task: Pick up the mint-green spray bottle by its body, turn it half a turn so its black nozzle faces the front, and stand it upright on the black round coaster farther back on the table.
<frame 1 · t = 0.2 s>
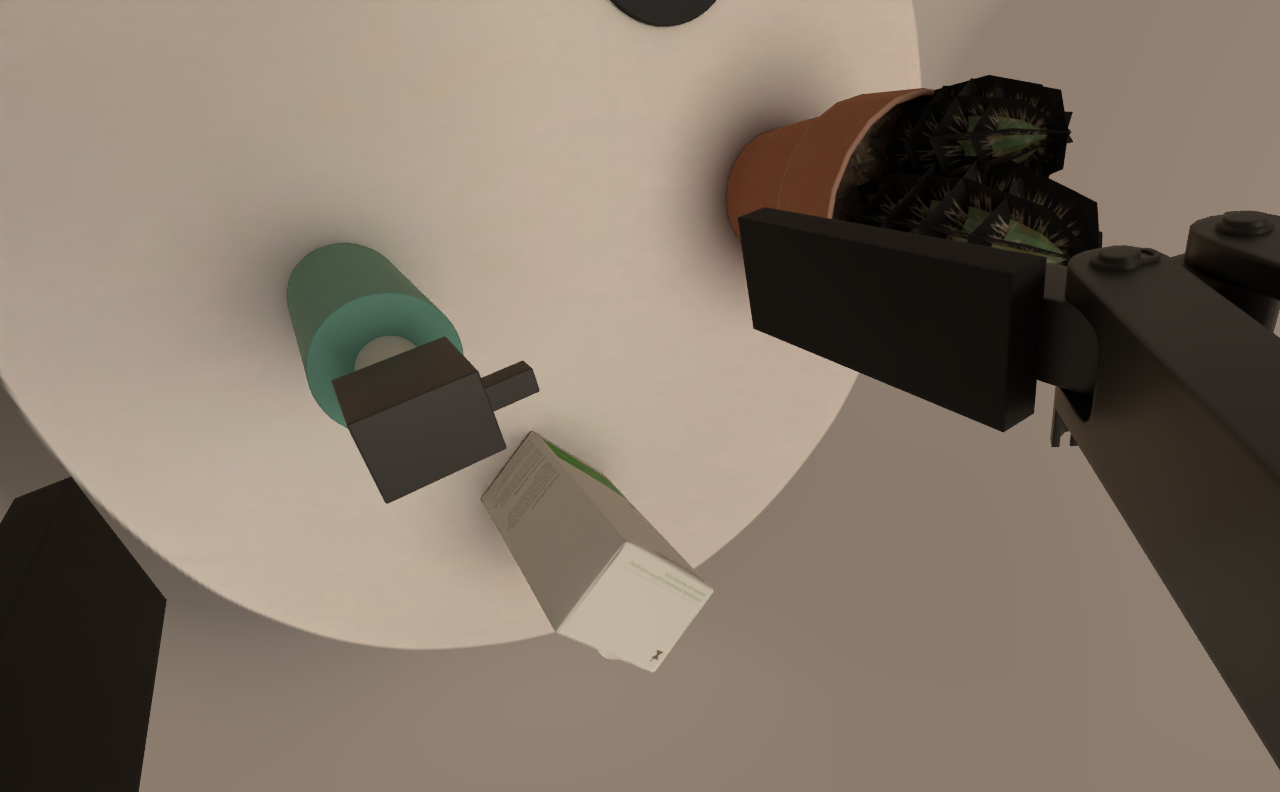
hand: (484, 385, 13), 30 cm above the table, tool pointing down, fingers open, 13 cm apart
spray bottle: (348, 298, 39), on the table
cosmetic box: (541, 487, 51), on the table
potted plant: (770, 191, 51), on the table
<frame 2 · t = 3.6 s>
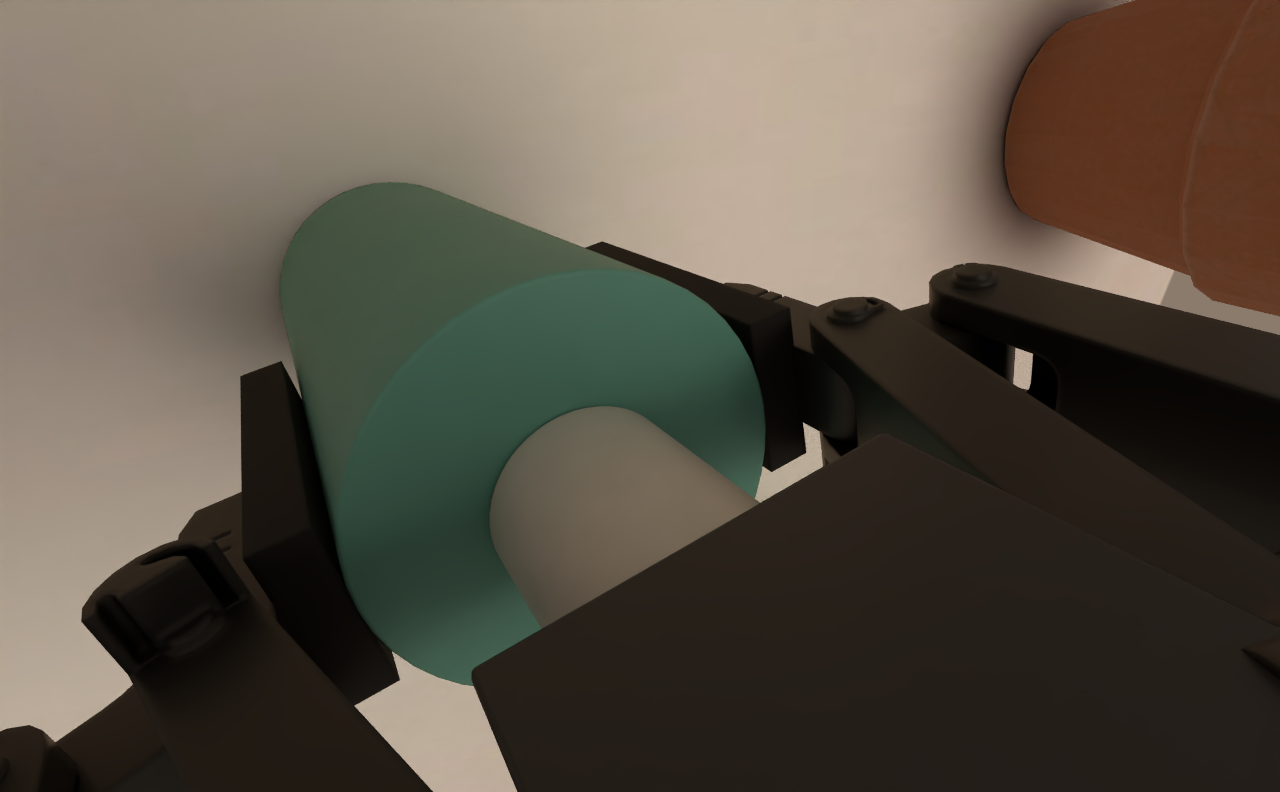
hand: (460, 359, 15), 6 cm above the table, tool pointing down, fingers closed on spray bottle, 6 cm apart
spray bottle: (402, 295, 20), on the table, touching gripper
potted plant: (1059, 123, 32), on the table
when the fingers open (7 cm above the table, at t = 16.6 s): spray bottle stays where it is, resting on black round coaster.
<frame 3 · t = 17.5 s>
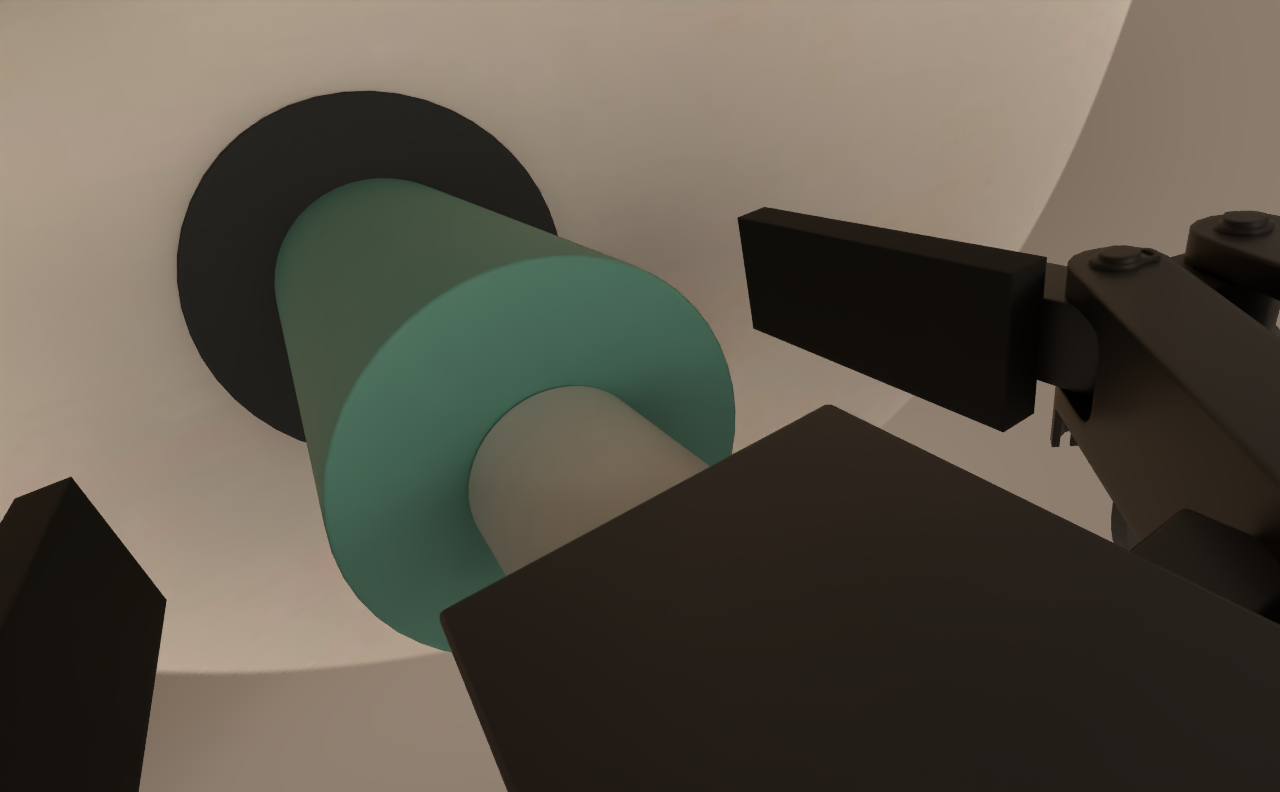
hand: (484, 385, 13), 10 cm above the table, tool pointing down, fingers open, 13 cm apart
spray bottle: (394, 288, 20), point 1 cm above the table, touching black round coaster
black round coaster: (392, 285, 21), on the table
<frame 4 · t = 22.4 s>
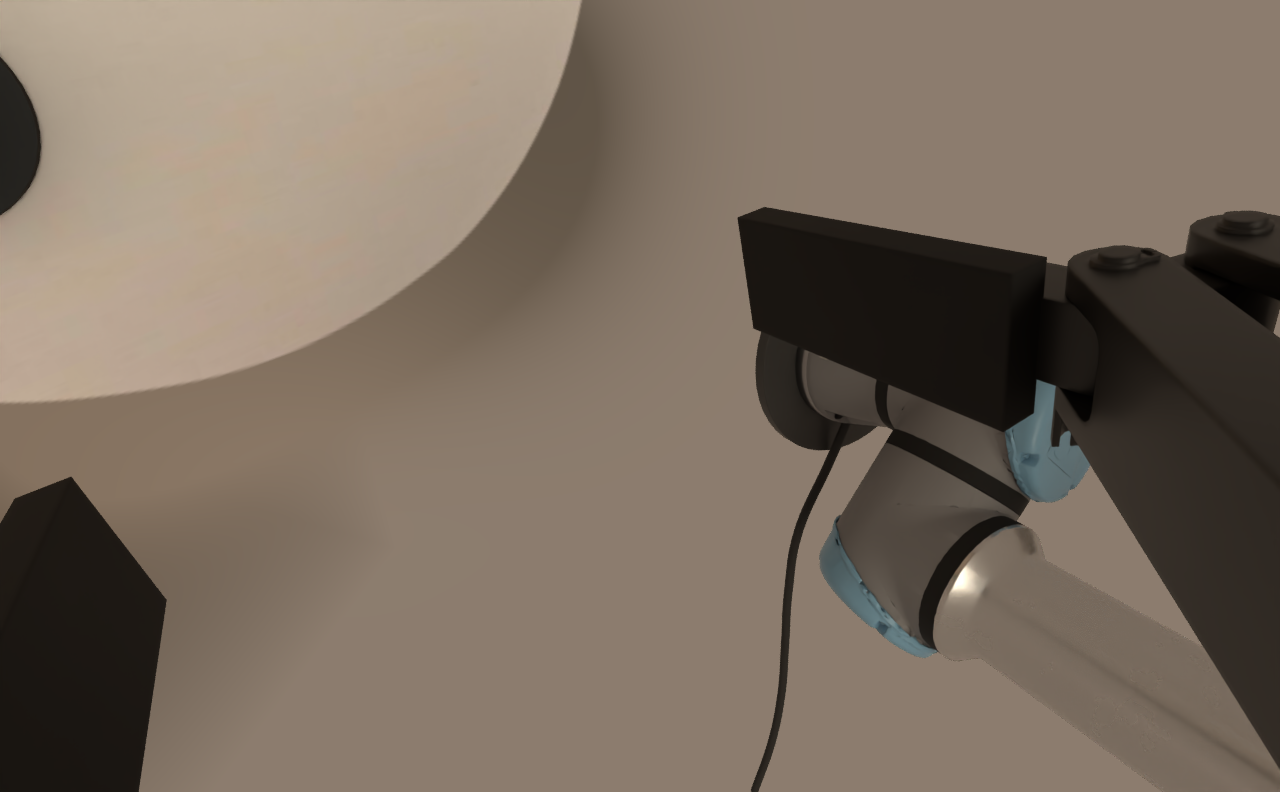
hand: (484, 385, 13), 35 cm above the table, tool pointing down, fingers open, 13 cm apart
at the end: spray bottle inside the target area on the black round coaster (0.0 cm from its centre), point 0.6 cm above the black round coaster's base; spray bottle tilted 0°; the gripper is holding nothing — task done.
